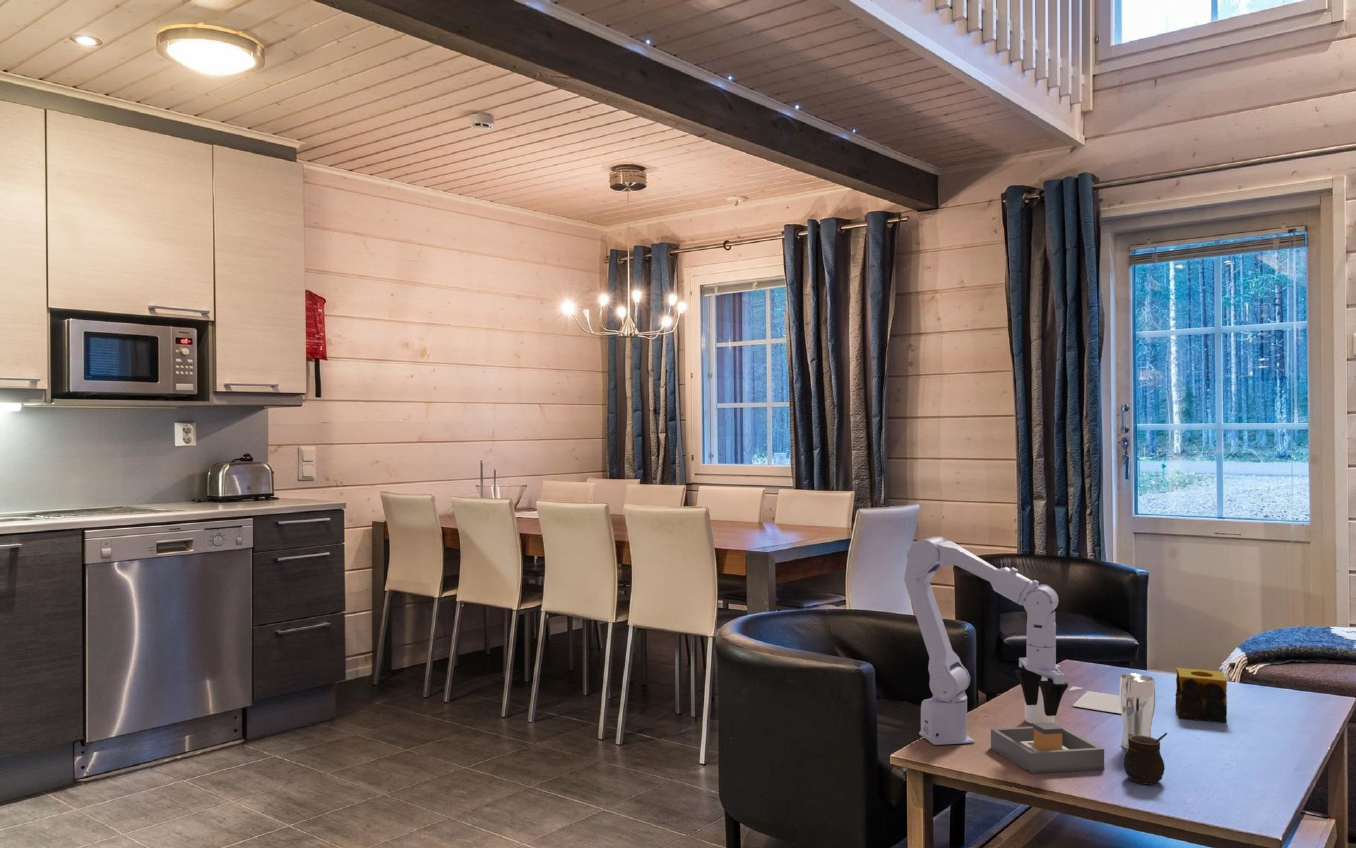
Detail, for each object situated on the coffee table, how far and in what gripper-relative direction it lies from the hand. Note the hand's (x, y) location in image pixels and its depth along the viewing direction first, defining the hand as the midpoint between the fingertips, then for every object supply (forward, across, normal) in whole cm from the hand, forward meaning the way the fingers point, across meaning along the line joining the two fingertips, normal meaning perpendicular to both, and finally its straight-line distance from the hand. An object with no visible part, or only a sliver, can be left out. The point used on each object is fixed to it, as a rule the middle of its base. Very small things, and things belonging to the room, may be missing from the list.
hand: (1040, 710), depth 202 cm
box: (+9, -2, 0) cm, 10 cm away
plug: (+9, -2, -1) cm, 9 cm away
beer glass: (+10, +1, -23) cm, 25 cm away
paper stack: (+10, +39, -37) cm, 54 cm away
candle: (+10, +21, -53) cm, 58 cm away
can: (+10, +21, -12) cm, 26 cm away
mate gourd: (+10, -17, -12) cm, 23 cm away
